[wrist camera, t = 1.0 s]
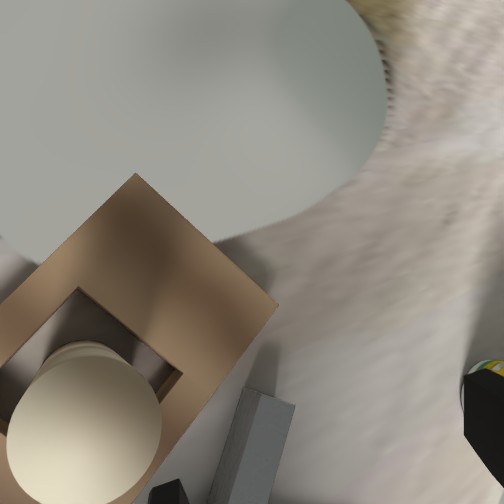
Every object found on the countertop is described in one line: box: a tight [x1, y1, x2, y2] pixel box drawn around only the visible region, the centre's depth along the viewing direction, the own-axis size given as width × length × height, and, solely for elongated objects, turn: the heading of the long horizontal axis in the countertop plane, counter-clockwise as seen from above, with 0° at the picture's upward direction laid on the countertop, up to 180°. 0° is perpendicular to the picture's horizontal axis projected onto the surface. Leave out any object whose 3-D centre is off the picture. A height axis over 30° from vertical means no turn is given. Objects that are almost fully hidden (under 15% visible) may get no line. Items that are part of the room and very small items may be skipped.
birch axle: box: [6, 340, 162, 504], centre depth 17 cm, size 4×4×10 cm
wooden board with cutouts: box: [0, 173, 279, 504], centre depth 20 cm, size 18×10×2 cm, turn 140°
